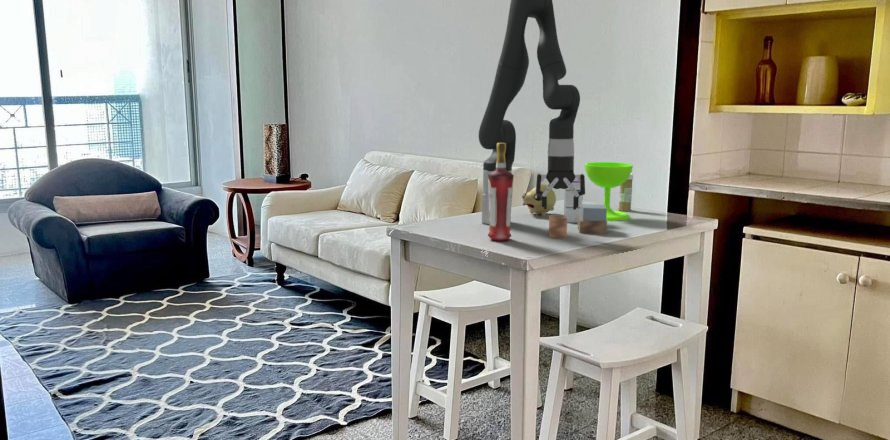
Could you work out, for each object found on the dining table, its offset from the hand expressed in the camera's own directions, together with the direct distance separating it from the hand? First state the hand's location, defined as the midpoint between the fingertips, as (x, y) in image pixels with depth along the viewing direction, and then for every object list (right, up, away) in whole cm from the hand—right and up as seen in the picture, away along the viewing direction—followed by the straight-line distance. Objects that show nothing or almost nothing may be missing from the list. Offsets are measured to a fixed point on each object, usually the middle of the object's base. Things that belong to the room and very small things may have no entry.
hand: (560, 209), depth 215 cm
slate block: (+12, -3, +10) cm, 16 cm away
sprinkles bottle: (+31, 0, +48) cm, 57 cm away
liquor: (-18, -9, -3) cm, 21 cm away
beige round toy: (-1, -2, +38) cm, 38 cm away
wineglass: (+21, -2, +35) cm, 41 cm away
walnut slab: (+11, -7, +10) cm, 17 cm away
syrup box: (+8, -4, +26) cm, 28 cm away
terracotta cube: (-1, -8, +2) cm, 8 cm away
